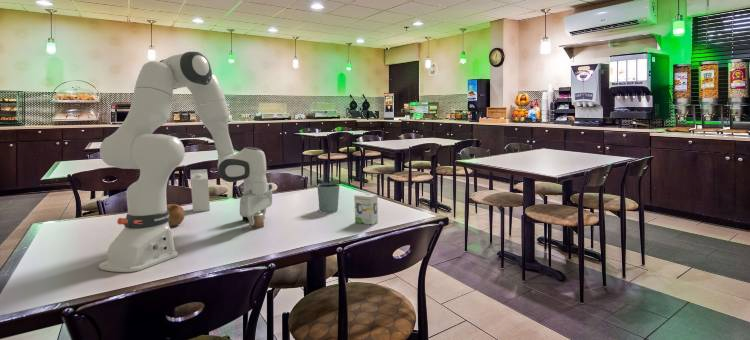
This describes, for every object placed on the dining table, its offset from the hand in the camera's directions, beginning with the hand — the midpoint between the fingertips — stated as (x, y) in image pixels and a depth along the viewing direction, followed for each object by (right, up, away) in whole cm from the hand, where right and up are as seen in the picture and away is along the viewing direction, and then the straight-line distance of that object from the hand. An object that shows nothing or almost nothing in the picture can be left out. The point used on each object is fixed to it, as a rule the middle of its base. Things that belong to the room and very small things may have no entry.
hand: (257, 222), depth 170 cm
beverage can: (-6, -1, +11) cm, 12 cm away
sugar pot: (0, -2, 0) cm, 2 cm away
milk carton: (-34, +2, +29) cm, 45 cm away
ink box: (+43, -1, +6) cm, 44 cm away
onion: (-35, -2, +3) cm, 35 cm away
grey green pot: (+26, +2, +27) cm, 37 cm away
